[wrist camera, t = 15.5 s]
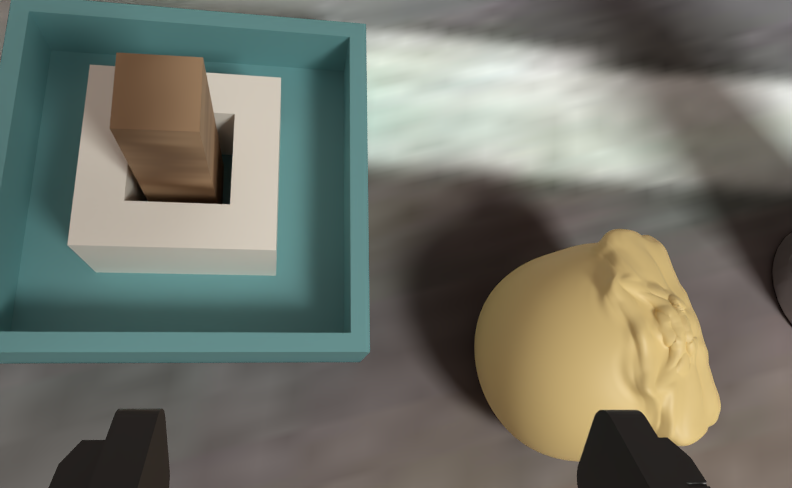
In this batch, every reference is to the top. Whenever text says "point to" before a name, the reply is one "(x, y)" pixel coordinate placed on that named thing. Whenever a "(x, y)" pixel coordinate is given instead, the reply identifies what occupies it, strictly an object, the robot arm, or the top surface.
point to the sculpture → (594, 346)
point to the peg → (167, 127)
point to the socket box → (183, 222)
